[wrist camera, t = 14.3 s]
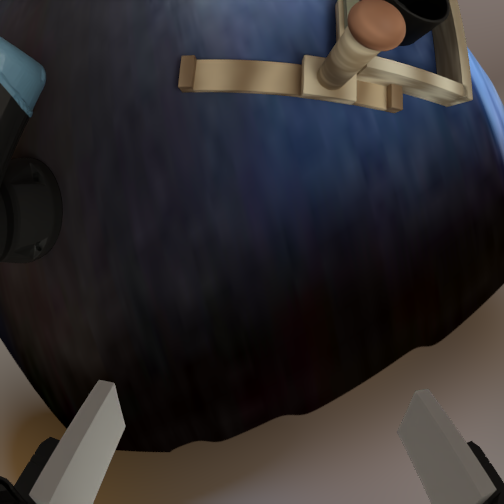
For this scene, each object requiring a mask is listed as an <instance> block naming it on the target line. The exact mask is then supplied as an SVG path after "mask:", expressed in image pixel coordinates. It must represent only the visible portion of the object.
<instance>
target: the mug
mask: <svg viewBox="0 0 504 504" xmlns="http://www.w3.org/2000/svg"><path fill="white" fill-rule="evenodd" d="M360 1H361V0H360ZM384 1H386V2H388V3H390V4H392V5H393V6H394V7H395V8H397V9H398V11H399V12H400V13H401V15H402V16H403V18H404V21H405V24H406V33H405V37H404V39H403V41H402V42H401V43H400V44H399V45H398V46H406V45H410V44H412V43H414V42H415V41H417V40H418V39H419V38H421V37H422V36H424V35H425V34H426V33H428V32H429V31H431V30H432V29H433V28H435V27H436V26H438V25H439V24H440V23H442V22H443V21H445V20H446V19H447V18H448V16H449V13H450V6H449V2H448V0H384Z"/></svg>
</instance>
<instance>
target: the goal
mask: <svg viewBox="0 0 504 504" xmlns="http://www.w3.org/2000/svg"><path fill="white" fill-rule="evenodd" d="M448 2H449V6H450V13H449V16H448V18H447V19H446V20H445V21H443V22H442V23H440V24H439V25H438V26H436V27H435V28H433V29H432V33H433V41H434V49H435V58H436V68H437V74H434V73H431V72H428V71H425V70H422V69H419V68H416V67H413V66H410V65H406V64H403V63H400V62H396V61H392V60H389V59H385V58H381V57H377V56H375V57H374V58H373V59H372V60H371V61H369V62H368V63H367V64H366V65H365V66H364V67H363V68H362V69H361V70H360V71H358V73H357V80H359V81H364V82H369V83H373V84H378V85H382V86H386V87H387V86H388V85H390V84H395V85H399V86H402V93H404V94H407V95H411V96H414V97H418V98H421V99H425V100H428V101H431V102H434V103H437V104H441V105H444V106H446V107H448V106H452V105H456V104H459V103H463V102H467V101H471V100H473V97H472V84H471V74H470V66H469V58H468V51H467V45H466V39H465V33H464V28H463V24H462V18H461V14H460V10H459V5H458V1H457V0H448Z"/></svg>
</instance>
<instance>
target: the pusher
mask: <svg viewBox="0 0 504 504" xmlns="http://www.w3.org/2000/svg"><path fill="white" fill-rule="evenodd" d="M335 10H336V44H335V46H334V47H333V48H332V50H331V51H330V53H329V54H328V56H327V57H326V58H323V57H316V56H309V55H304V57H303V60H302V74H301V98H308V99H316V100H324V101H331V102H337V103H343V104H349V105H351V104H353V103H354V102H356V96H357V73H358V71H360V70H361V69H362V68H363V67H364V66H365V65H366V64H367V63H368V62H369V61H371V60H372V59H373V58H374V57H375V56H376V55H377V54H378V53H380V52H381V51H388V50H391V49H394V48H395V47H397V46H398V45H399V44H400V43H401V42H402V41H403V39H404V37H405V33H406V24H405V21H404V18H403V16H402V15H401V13H400V12H399V11H398V9H397V8H395V7H394V6H393V5H392V4H390V3H388V2H386V1H384V0H361V1H359V0H337V3H336V5H335Z"/></svg>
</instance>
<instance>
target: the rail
mask: <svg viewBox="0 0 504 504" xmlns="http://www.w3.org/2000/svg"><path fill="white" fill-rule="evenodd" d="M301 74H302V65H300V64H291V63H281V62H268V61H252V60H197V59H196V57H195V55H192V56H182V58H181V66H180V74H179V83H178V87H179V88H180V90H181V91H182V92H234V93H256V94H271V95H283V96H293V97H301ZM351 105H357V106H362V107H367V108H372V109H377V110H382V111H387V112H391V113H396V112H398V111H401V110H403V95H402V86H399V85H395V84H390V85H388V86H387V87H386V86H382V85H378V84H373V83H369V82H364V81H359V80H357V96H356V102H354V103H353V104H351Z"/></svg>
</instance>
